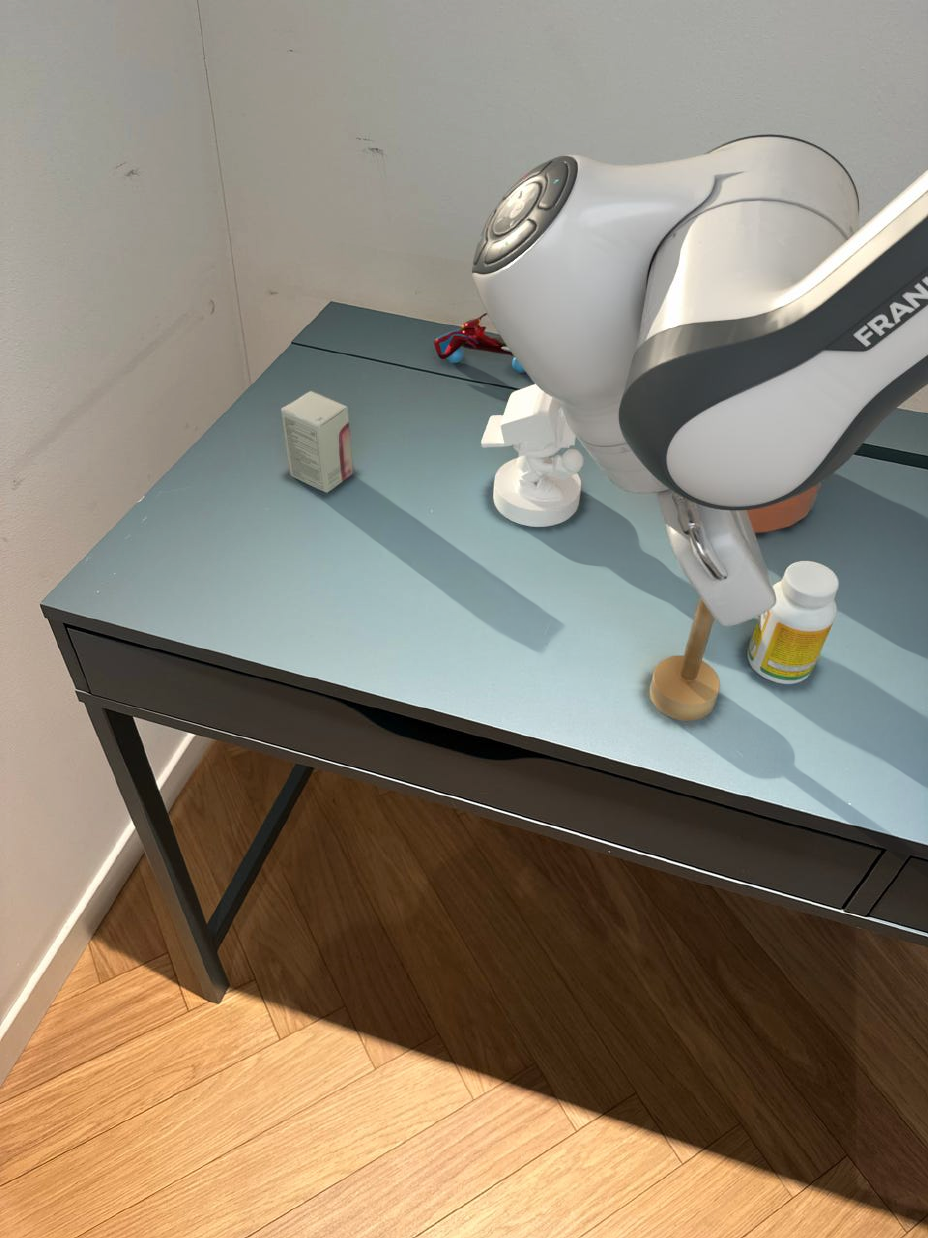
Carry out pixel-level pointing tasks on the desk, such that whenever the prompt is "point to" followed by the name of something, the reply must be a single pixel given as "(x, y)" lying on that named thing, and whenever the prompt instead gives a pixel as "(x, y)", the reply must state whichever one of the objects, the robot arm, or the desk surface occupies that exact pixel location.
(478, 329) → the hoverbike
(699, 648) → the wooden post stand
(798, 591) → the supplement bottle
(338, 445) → the small box
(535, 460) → the character figurine
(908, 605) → the desk surface
